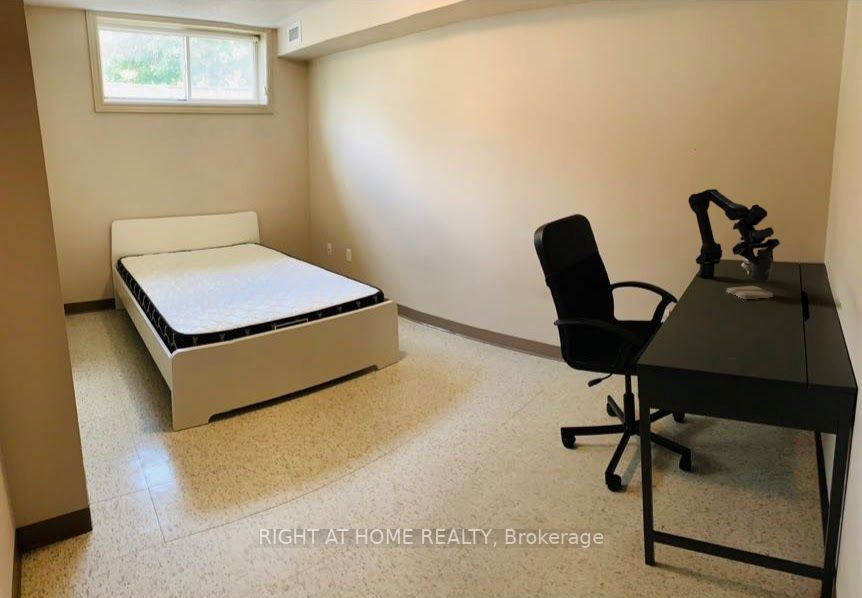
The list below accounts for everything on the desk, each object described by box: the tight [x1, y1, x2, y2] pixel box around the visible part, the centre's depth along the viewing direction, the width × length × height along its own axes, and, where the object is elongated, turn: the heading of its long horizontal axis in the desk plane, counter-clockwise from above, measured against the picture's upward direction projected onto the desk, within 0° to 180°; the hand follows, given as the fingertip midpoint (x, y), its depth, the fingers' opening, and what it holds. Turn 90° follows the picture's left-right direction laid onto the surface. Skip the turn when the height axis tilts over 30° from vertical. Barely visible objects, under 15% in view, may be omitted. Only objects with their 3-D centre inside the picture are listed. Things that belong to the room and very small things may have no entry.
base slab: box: [726, 285, 774, 301], centre depth 244 cm, size 12×12×2 cm
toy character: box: [741, 256, 753, 275], centre depth 277 cm, size 10×9×12 cm
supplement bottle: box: [750, 248, 774, 282], centre depth 241 cm, size 7×7×12 cm
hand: (765, 264), depth 240 cm, fingers closed on supplement bottle, 7 cm apart
